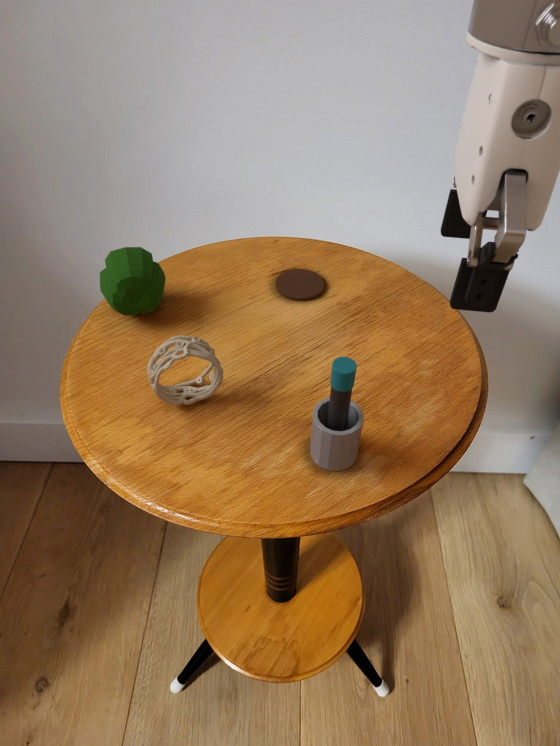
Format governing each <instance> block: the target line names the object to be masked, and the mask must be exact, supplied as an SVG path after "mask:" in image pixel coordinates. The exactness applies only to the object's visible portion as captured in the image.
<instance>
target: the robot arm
mask: <svg viewBox="0 0 560 746" xmlns="http://www.w3.org/2000/svg"><path fill="white" fill-rule="evenodd" d="M471 7H472V8H471V12H470V17H469V22H468V26H467V31H466V35H465V42H466V44H467V45H468V46H469V47H470V48H472V49H474V50H475V51H477V52H479V53H478V57H477V59H476V60H475V61H476V62H475V68H474V72H473V76H472V80H471V84H470V87H469V91H468V95H467V97H466V102H465V106H464V111H463V115H462V118H461V124H460V127H459V132H458V137H457V142H456V147H455V152H454V159H453V174H454V177H453V181H452V187H453V188H450V190H449V193H448V198H447V202H446V205H445V209H444V214H443V218H442V222H441V225H440V236H441V237H443V238H453V239H466V240H469V242H468V248H467V249H468V250H467V257H461V259H460V263H459V266H458V270H457V274H456V277H455V280H454V284H453V288H452V291H451V293H450V295H451V296H450V298H449V306H450V308H451V309H453V310H456V311H467V312H479V313H493V312H495V311H496V310H497V307H498V306H499V302H500V299H501V297H502V294H503V292H504V288H505V286H506V283H507V280H508V277H509V275H510V272H511V271H512V270H513V268H514V264H515V261H516V260H517V259H518V258H519V254H518V252H520V248H521V247H522V246H523V245H524V242H525V241H526V237H527V231H528V232H535V231H536V230H538V229H539V228H540V227H541V225H542V224H543V222H544V218H545V215H546V212H547V210H548V207H549V204H550V201H551V198H552V196H553V193H554V189H555V186H556V183H557V179H558V177H559V174H560V0H473V4H472V6H471ZM489 211H492V212H493V211H494V212H498V217H495V216H494V217H492V216H487V214H488V212H489ZM484 230H487V231H496V233H495V235H494V237H493V238H494V241H487V242H486V243H485V244H483V245H482V241H483V234H484V233H483V232H484Z"/></svg>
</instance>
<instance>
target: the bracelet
mask: <svg viewBox="0 0 560 746" xmlns="http://www.w3.org/2000/svg"><path fill="white" fill-rule="evenodd" d="M174 346H175V347H174ZM172 347H173V348H172ZM180 353H182V354H180ZM189 357H194V358H198V359H201V360H205V361H208V362H210V363H209V365H208V367H207V368H206V369H205V370H204V371H202V373H201V374H199V376H197V377H196V378H193V379H190V380H187V381H184V382H180V383H177V384H175V385H164V384H161V383H160V382H159V381H160V377H161V375H162V373H163V372H164V371H165V370H167V371H168V370H169V369H170V368H171V367H172V365H173V364H174V363H175V362H176V361H181V360H185V359H186V358H189ZM158 359H159V360H158ZM146 369H147V371H146V372H147V377H148V378H147V379H148V382H149V384H150V387H151V391H152V392H153V393H154V395H155V396H156V397H157V398H158V400H161V401H163V402H165V403H167V405H168V404H169V405H172V406H180V405H185V406H187V405H188V406H189V405H192V404H195V403H196V402H199V401H203V400H207V399H209V398H210V397H211V396H213V395H214V393H216V392H217V390H218V389H219V388H220V387H221V386H222V384H223V381H224V369H223V367H222V365H221V361H220V359H219V358H218V357H217V356H216V351H215V348H214V347H212V346H211V345H210V344H209V342H207V341H206V340H204V339H203V338H201V337H198V336H197V337H196V336H191V335H174V336H172V337H170V338H169V339H167V340H165V341H164V342H162V344H161V345H159V346H158V347H157V349H156V350H155V351H154V353H153V354H152V355H151V358H150V360H149V362H148V364H147V368H146ZM212 370H213V371H212ZM211 371H212V372H211ZM209 373H210V374H209ZM207 375H209V376H208V379H209V381H211V382H210V384H209V385H208V384H205V383H206V380H205V377H206V376H207ZM194 384H197V385H199V386H200V387H196V386H193V385H194ZM187 398H190V399H187Z"/></svg>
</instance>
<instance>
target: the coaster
mask: <svg viewBox="0 0 560 746" xmlns="http://www.w3.org/2000/svg"><path fill="white" fill-rule="evenodd" d="M274 285H275V290H276V292H277V293H278V294H279V295H280V296H282V297H284V298H285V299H287V300H291V301H297V302H303V301H304V302H305V301H309V300H313V299H315V298H316V299H317V298H318V297H319V296H320V295H321V294H323V292H324V291H325V279H323V277H322V276H321V275H320V274H319V273H317V272H315V271H313V270H310V269H305V268H293V269H289V270H286V271H283V272H282V273H280V274H279V275H278V276H277V277H276V279H275V283H274Z"/></svg>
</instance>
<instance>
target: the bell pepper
mask: <svg viewBox="0 0 560 746" xmlns="http://www.w3.org/2000/svg"><path fill="white" fill-rule="evenodd" d="M104 261H105V262H104V263H105V268H103V269H102V270H100V272H99V288H100V289H99V290H100V292H101V294H102V295H103V297H104V300H106V302H107V303H108V305H109V306H110V308H111V309H112V310H113V311H115V312H116V313H118V314H121V315H122V316H132V317H133V316H137V314H141V315H145V314H147V313H151V312H153V311H154V310H155V309H156V308H157V307H158V306H159V305H160V304H161V302H162V299H163V296H164V291H165V286H166V279H167V278H166V273H165V271H164V270H163V268H162V266H161V265H160V263H158V262H156V261H154V259H153V254H152V252H150V251H149V250H146V248H144V247H142V246H125V247H121V248H118V249H113V250H110V251H109V252H108V254H107V256H106V257H105V259H104Z"/></svg>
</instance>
